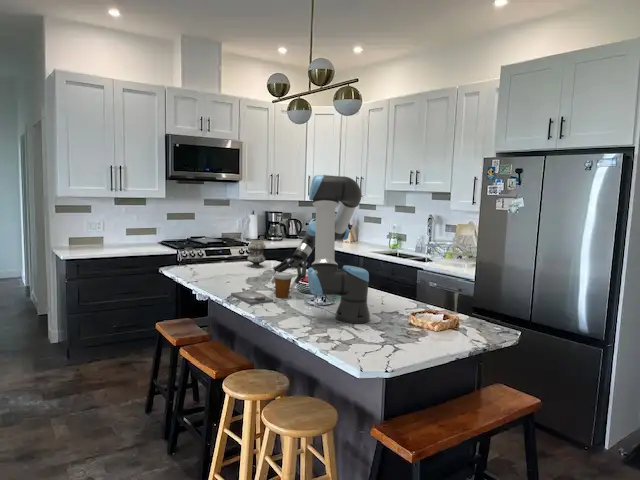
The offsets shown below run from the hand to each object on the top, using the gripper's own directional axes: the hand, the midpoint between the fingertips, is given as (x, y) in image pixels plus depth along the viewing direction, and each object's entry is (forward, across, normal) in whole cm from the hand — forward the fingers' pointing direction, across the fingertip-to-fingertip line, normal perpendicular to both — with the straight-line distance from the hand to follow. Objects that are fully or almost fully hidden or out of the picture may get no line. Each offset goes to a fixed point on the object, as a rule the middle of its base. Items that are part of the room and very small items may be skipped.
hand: (281, 284), depth 247 cm
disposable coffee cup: (+4, 0, -5) cm, 6 cm away
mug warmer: (+14, +6, +6) cm, 17 cm away
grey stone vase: (-30, +68, -40) cm, 84 cm away
